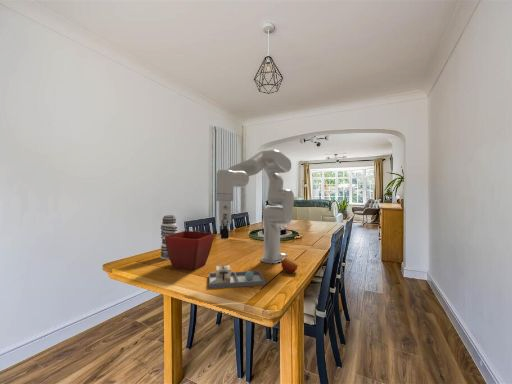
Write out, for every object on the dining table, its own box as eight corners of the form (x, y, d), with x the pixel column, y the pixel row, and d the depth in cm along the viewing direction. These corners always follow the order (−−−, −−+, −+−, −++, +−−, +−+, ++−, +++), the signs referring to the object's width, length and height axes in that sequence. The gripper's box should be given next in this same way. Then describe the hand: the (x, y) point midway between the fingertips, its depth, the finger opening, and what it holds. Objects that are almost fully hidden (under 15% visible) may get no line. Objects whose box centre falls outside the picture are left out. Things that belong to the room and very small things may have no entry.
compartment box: (259, 274, 112) (259, 270, 112) (265, 285, 100) (265, 281, 100) (209, 277, 108) (209, 273, 108) (208, 289, 95) (208, 284, 95)
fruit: (276, 266, 121) (284, 253, 121) (289, 274, 121) (297, 261, 122) (279, 272, 113) (288, 258, 113) (292, 280, 113) (301, 266, 114)
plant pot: (214, 262, 130) (215, 232, 130) (196, 274, 112) (197, 239, 112) (184, 259, 135) (185, 230, 135) (163, 269, 117) (163, 236, 117)
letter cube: (229, 278, 106) (229, 265, 106) (230, 283, 100) (230, 269, 100) (215, 279, 105) (216, 265, 105) (216, 284, 99) (216, 270, 99)
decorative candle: (156, 257, 137) (157, 215, 137) (170, 254, 145) (171, 214, 145) (165, 260, 132) (166, 216, 132) (179, 257, 139) (180, 215, 139)
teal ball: (252, 278, 107) (252, 269, 107) (254, 281, 103) (254, 272, 103) (244, 278, 106) (244, 269, 106) (245, 281, 102) (245, 272, 102)
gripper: (235, 198, 95) (234, 240, 95) (231, 197, 112) (230, 232, 112) (216, 198, 93) (215, 240, 93) (215, 197, 110) (214, 233, 110)
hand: (223, 236), depth 102 cm, fingers open, 9 cm apart
